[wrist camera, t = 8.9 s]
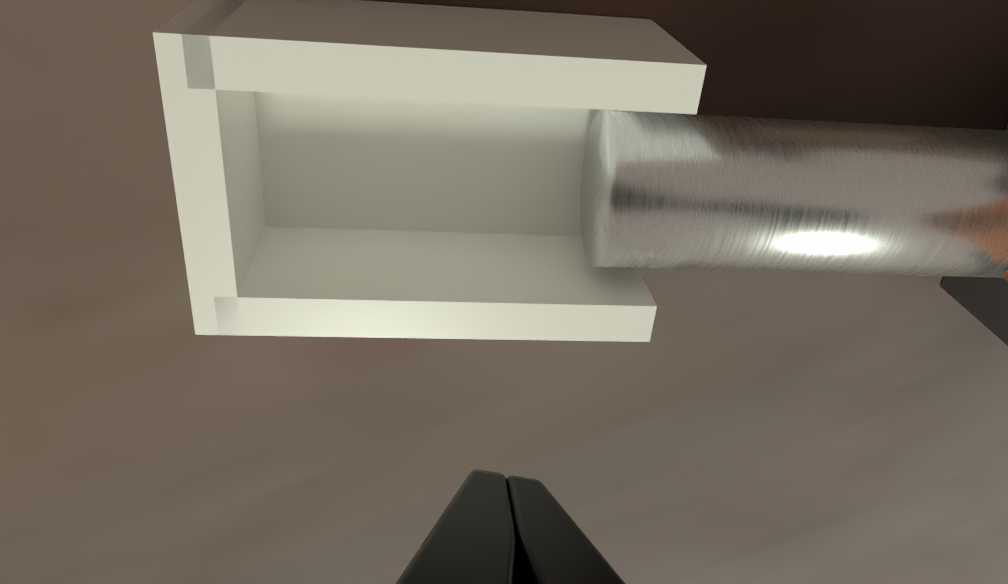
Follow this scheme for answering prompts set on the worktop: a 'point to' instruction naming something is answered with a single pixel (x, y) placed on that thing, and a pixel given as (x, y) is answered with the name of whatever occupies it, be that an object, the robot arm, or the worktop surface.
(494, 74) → the open tray
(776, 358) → the worktop surface
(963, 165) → the tube
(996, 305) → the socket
